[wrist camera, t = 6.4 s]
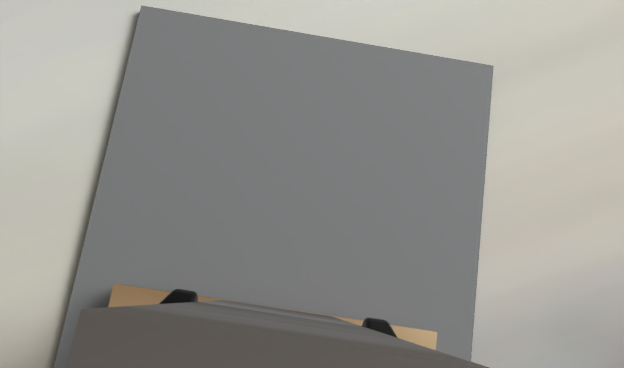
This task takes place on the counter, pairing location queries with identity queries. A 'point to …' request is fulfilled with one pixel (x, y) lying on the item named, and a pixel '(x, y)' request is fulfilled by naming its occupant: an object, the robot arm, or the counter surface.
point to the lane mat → (291, 177)
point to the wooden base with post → (239, 337)
